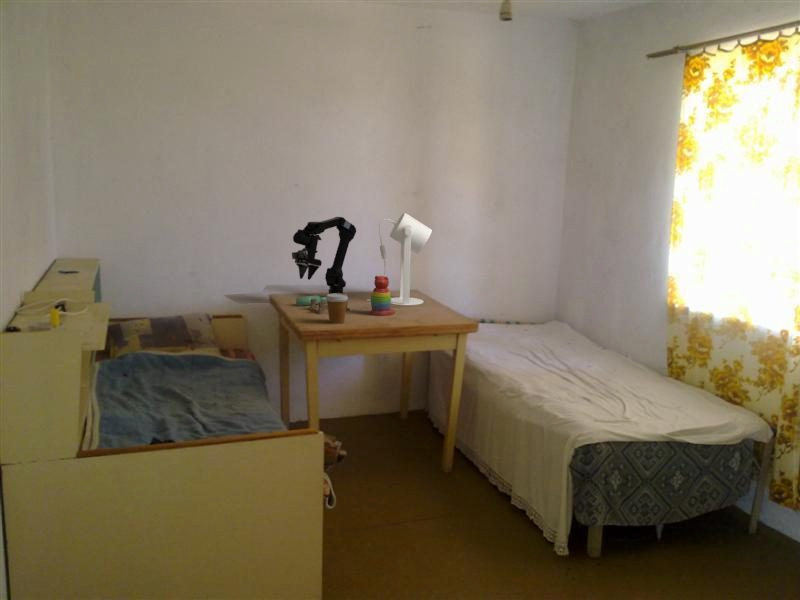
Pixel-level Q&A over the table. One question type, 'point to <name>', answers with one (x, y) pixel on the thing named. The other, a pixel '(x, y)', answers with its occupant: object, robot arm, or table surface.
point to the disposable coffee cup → (336, 307)
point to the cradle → (320, 307)
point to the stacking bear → (381, 297)
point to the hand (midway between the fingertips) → (304, 279)
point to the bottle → (309, 300)
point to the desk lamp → (406, 252)
